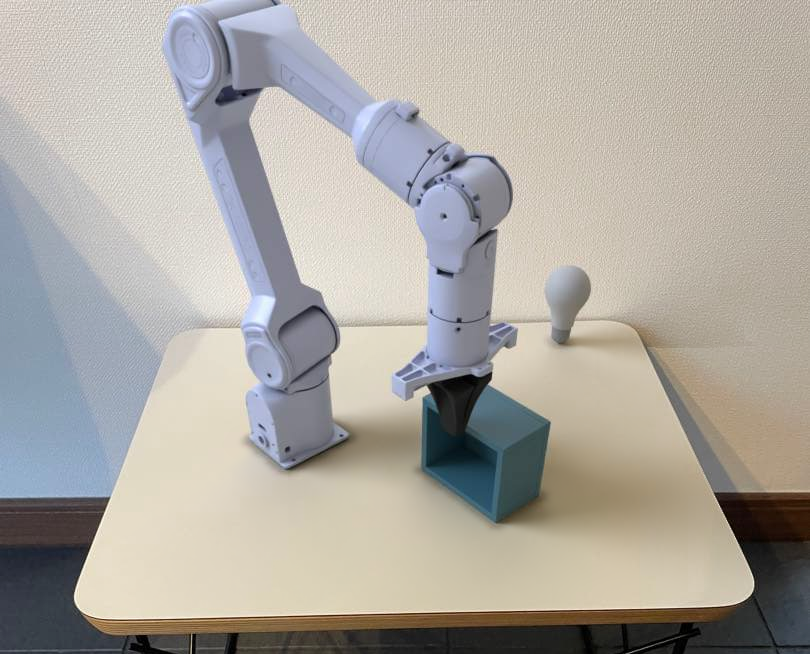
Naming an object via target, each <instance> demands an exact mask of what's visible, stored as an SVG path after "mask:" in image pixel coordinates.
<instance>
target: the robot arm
mask: <svg viewBox="0 0 810 654" xmlns="http://www.w3.org/2000/svg"><path fill="white" fill-rule="evenodd" d="M161 50H162V52H163V53H162V54H163V55H164V58H165V61H166V63H167V67H168V69H169V72H170V75H171V77H172V81H173V83H174V85H175V88H176V91H177V94H178V96H179V100H180V102H181V105H182V107H183V110H184V114H185V118H186V121H187V124H188V126H189V129H190V132H191V134H192V137H193V140H194V143H195V145H196V148H197V151H198V153H199V157H200V159H201V162H202V164H203V167H204V170H205V173H206V175H207V178H208V181H209V184H210V186H211V189H212V192H213V194H214V198H215V200H216V203H217V205H218V208H219V211H220V213H221V216H222V219H223V222H224V225H225V228H226V230H227V232H228V235H229V238H230V241H231V245H232V246H233V249H234V252H235V255H236V257H237V260H238V263H239V265H240V269H241V271H242V274H243V277H244V279H245V282H246V285H247V287H248V290H249V293H250V296H251V299H250V301H249V304H248V306H247V308H246V310H245V312H244V315H243V318H242V320H241V322H240V330H241V333H242V335H243V339H244V347H245V351H244V353H245V358H246V361H247V365H248V367H249V369H250V370H251V372H252V374H253V375H254V377H255V378H256V379H257V380H258V381H259V382H258V383H257V384H255V385H254V386H253V387H251V388H250V389H249V390H247V392H245V393H246V394H245V405H246V409H247V410H246V411H247V416H248V421H249V426H250V434H249V436H248V437H249V441H251V442H252V443H253V444H255V446H257V447H258V448H259V449H261V450H262V451H263V452H264V453H265V454H266V455H267V456H269V457H270V458H271V459H272V460H273V461H275V462H276V463H277V464H279V466H281V468H283V469H285V470H287V469H288V470H289V469H290V468H292V467H294V466H296V465H299V464H301V463H302V462H304V461H306V460H307V459H310V458H312V457H314V456H316V455H318V454H320V453H321V452H324V451H326V450H327V449H329V448H331V447H333V446H335V445H337V444H339V443H341V442H343V441H345V440H347V439H349V437H350V434H349V432H348V431H347V430H345V429H344V428H342V427H341V426H339V424H337V423H336V422H334V416H333V415H334V414H333V405H332V404H333V403H332V392H331V391H332V390H331V381H330V371H329V370H330V369H329V368H330V366H332V364H333V361H332V359H333V358H332V355H333V354H335V353H336V351H338V349H339V347H340V345H341V332H340V328H339V325H338V322H337V321H336V319H335V317H334V316H333V315H332V313H331V312H330V310H329V308H328V306H327V305H326V302H325V300H324V296H323V293H322V292H321V291H320V290H318V289H316V288H313V287H311V286H309V285H307V284H304V283H302V281H301V278H300V275H299V272H298V268H297V266H296V265H297V264H296V262H295V260H294V256H293V252H292V250H291V247H290V243H289V241H288V237H287V234H286V231H285V229H284V225H283V222H282V219H281V215H280V213H279V210H278V207H277V204H276V200H275V198H274V194H273V192H272V189H271V185H270V181H269V179H268V176H267V173H266V170H265V167H264V164H263V161H262V157H261V154H260V151H259V148H258V145H257V142H256V139H255V137H254V133H253V130H252V126H251V124H250V119H251V116H252V114H253V112H254V109H255V107H256V105H257V103H258V99H259V98H260V96H261V94H262V93H263V91H264V90H265V89H266V88H280V89H282V90H283V91H285V92H286V93H287V94H289V95H290V96H292V97H293V98H294V99H295V100H297V101H298V102H300V103H302V105H304V106H305V107H306V108H308V109H310V110H311V111H312V112H314V113H315V114H316V115H318V116H319V117H321V118H322V119H323V120H324V121H326V122H328V123H329V124H330V125H332V126H333V127H335V128H336V129H337V130H339V131H340V132H342V133H343V134H344V135H346V136H347V137H349V138H350V139H351V140H352V142H353V148H354V155H355V159H356V162H357V163H358V164H359V165H360V166H361V167H362V168H364V169H365V170H366V171H367V172H368V173H370V175H372V176H373V177H375V178H376V179H377V180H378V181H379V182H381V183H382V184H383V185H384V186H385V187H386V188H388V190H390V191H391V192H392V193H393V194H395V195H396V196H397V197H398V198H399V199H401V200H402V201H403V202H404V203H405V204H406V205H408V206H409V207H410V208H411V209H413V211H414V219H415V222H416V225H417V227H418V229H419V232H420V233H421V235H422V237H423V238H424V241H425V245H426V259H428V272H427V273H428V275H427V276H428V278H427V321H426V322H427V323H426V324H427V326H426V329H427V330H426V344H425V346H423V347H422V349H420V350H419V351H418V352H417V353H416V354H415V355H414V356H413V357H412V358H411V359H410V360H409V361H408V362H407V363H406V364H405V365H404V366H403V367H401V369H399V370H398V371H396V372H393V373H392V374H391V392H392V393H393V394H395V396H397V397H399V399H401V400H403V401H404V402H407V401H410V400H411V399H413V398H414V392H416V391H418V390H420V389H422V388H424V387H426V388H427V389H428V390H429V394H430V393H431V395H432V397H433V399H434V401H435V404H436V407H437V410H438V413H439V417H440V421H441V425H442V429H444V430H445V431H447V432H448V433H450V434H451V435H453V436H454V437H456V436H458V435H460V434H461V433H463V432H464V431H465V429H466V427H467V424H468V421H469V419H470V416H471V413H472V411H473V408H474V406H475V404H476V402H477V400H478V398H479V396H480V395H481V393H482V392H483V390H484V389H485V387H486V386H487V385H490V382H492V380H493V371H494V363H493V362H492V360H493V359H494V358H495V357H496V355H497V354H498V353H499V352H500V351H501V349H502V348H506V349H507V350H510V349H513V348H514V347H516V346H517V341H518V339H517V338H518V333H519V328H518V327H516V326H514V325H512V324H510V323H508V322H507V321H504V320H503V321H500V322H498V323H495V324H491V320H492V317H491V316H492V307H493V296H494V285H495V273H496V272H495V271H496V261H497V247H498V235H499V230H498V229H497V228H496V227H497V226H498V225H500V224H501V223H502V222H503V221H504V220H505V218H506V217H507V216H508V214H509V212H510V211H511V209H512V206H513V201H514V190H513V183H512V181H511V177H510V175H509V174H508V172H507V171H506V169H505V168H504V166H503V165H502V164H501V163H500V162H499V161H498V160H497V158H496V157H495V156H494V155H493V154H490V153H487V152H479V151H478V152H471V153H470V152H468V151H466V150H465V148H463V146H461V145H460V144H459V143H457V142H456V141H455V142H453V143H452V142H451V141H450V140H449V139H448V138H446V136H444V135H443V134H442V133H440V132H439V131H438V130H437V129H435V128H434V127H433V126H432V125H431V124H430V123H428V122H427V121H426V120H425V119H423V118H422V117H421V116H420V115H419V114H420V111H421V109H420V108H419V107H418V106H417V105H416V104H414V103H413V102H412V101H411V100H406V101H404V102H403V101H402V100H400V99H398V98H389V99H385V100H383V101H377V100H376V98H374V97H373V96H372V95H371V94H370V93H369V92H368V91H367V90H366V89H365V88H364V87H363V86H361V85H360V84H359V83H358V82H357V81H356V80H355V78H353V76H351V75H350V74H349V73H348V72H347V71H346V70H345V69H344V68H343V67H342V66H340V65H339V64H338V62H336V61H335V60H334V59H333V58H332V57H331V55H329V54H328V53H327V52H326V51H325V50H324V49H323V48H322V47H321V46H320V45H318V43H316V42H315V40H313V39H312V38H311V37H310V36H309V35H308V34H307V33H306V32H305V31H304V30H303V29H302V28H301V25H300V21H299V17H298V15H297V12H296V10H295V9H294V8H292V7H291V6H288V4H286V3H282V2H281V0H210V1H205V2H201V3H197V4H192V3H191V4H183V5H180V6H178V7H176V8H175V9H174V10H173V11H172V13H171V14H170V16H169V19H168V21H167V26H166V29H165V33H164V37H163V41H162V44H161Z"/></svg>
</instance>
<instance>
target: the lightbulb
mask: <svg viewBox="0 0 810 654" xmlns="http://www.w3.org/2000/svg"><path fill="white" fill-rule="evenodd" d="M545 281H546V282H545V284H544V296H545V299H546V302H547V305H548V307H549V311H550V318H551V319H550V324H551V333H550V334H551V336H550V337H551V339H552V341H555V343H557V344H562V343H564V342H565V343H566V342H567V341H568V340H569V339H570V335H571V332H572V328H574V325H575V321H576V318H577V316H578V314H579V312H580V311H581V310H582V309H583V307H584V306H585V305H586V303H587V302H588V301H589V298H590V296H591V292H592V284H591V280H590V277H589V275H588V274H587V272H586V271H585V270H584V269H582V268H581V267H580V266H579V267H578V266H576V265H571V264H568V265H562V266H560V267H558V268H556V269H554V270H553V271H552V272H551V273H550V275H549V276H548V277H547V279H546V280H545Z"/></svg>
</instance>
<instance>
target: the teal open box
mask: <svg viewBox="0 0 810 654" xmlns="http://www.w3.org/2000/svg"><path fill="white" fill-rule="evenodd" d="M421 399H422V401H421V403H422V405H421V407H422V409H421V411H422V412H421V414H422V415H421V466H420V468H421V470H422V471H423V472H424V473H425V474H427V475H428V476H430V477H431V478H433V479H434V480H436V481H437V482H438V483H440V484H441V485H442V486H444V487H445V488H447V490H449V491H450V492H452V493H454V494H455V495H456V496H457V497H459V498H460V499H462V500H463V501H465V502H466V503H467V504H469V505H470V506H471V507H473V508H474V509H476V511H479V512H480V513H481V514H483V515H484V516H485V517H487V518H488V519H490V520H491V521H492V522H494V523H498V522H499V521H501V520H503V519H504V518H506V517H507V516H509V515H510V514H512V513H514V512H515V511H516V510H518V509H520V508H521V507H522V506H524V505H526V504H527V503H529V502H531V500H533V499H535V498H536V497H539V495H540V492H541V488H542V487H541V485H542V481H543V475H544V468H545V461H546V455H547V449H548V443H549V436H550V432H551V425H552V422H551V420H549V419H547V418H545V417H544V416H542V415H540V414H539V413H538V412H535V411H534V410H531V409H530V408H528V407H527V406H525V405H523V404H522V403H520V402H518V401H516V400H515V399H513V398H511V397H510V396H508V395H506V394H505V393H503V392H502V391H500V390H498V389H497V388H495V387H494V386H491V385H490V384H488V385H487V386H486V387H485V389H484V390H483V392H482V393H481V395H480V396H479V398H478V400H477V402H476V404H475V406H474V408H473V411H472V413H471V416H470V419H469V421H468V424H467V427H466V429H465V431H464V432H463V433H461V434H460V435H458V436H456V437H454V436H453V435H451V434H450V433H448V432H447V431H445V430H444V429H442V425H441V421H440V417H439V413H438V410H437V407H436V404H435V401H434V399H433V397H432V395H431V393H430V392H429V393H427V394H425V395H423V396H422V398H421Z"/></svg>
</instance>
